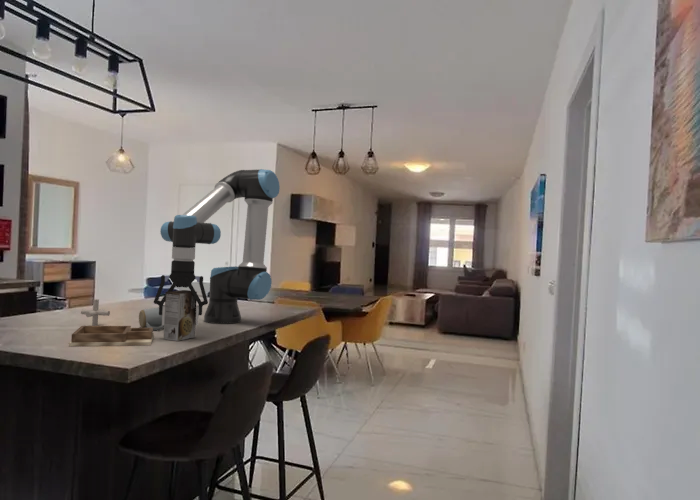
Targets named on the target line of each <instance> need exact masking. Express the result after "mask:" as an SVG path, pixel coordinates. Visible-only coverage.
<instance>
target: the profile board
mask: <svg viewBox="0 0 700 500" xmlns="http://www.w3.org/2000/svg"><path fill="white" fill-rule="evenodd" d="M154 336H155V332H153V328H142V327H132V325H98V326H92V325H81V326H79V328H77V329H76V330H75V331H74V332H73V333H71V340H70V341H69V342H68V347H112V346H115V347H119V346H120V347H121V346H123V347H124V346H125V347H126V346H127V347H128V346H134V347H135V346H151V345H152V342H153V340H154Z"/></svg>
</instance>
